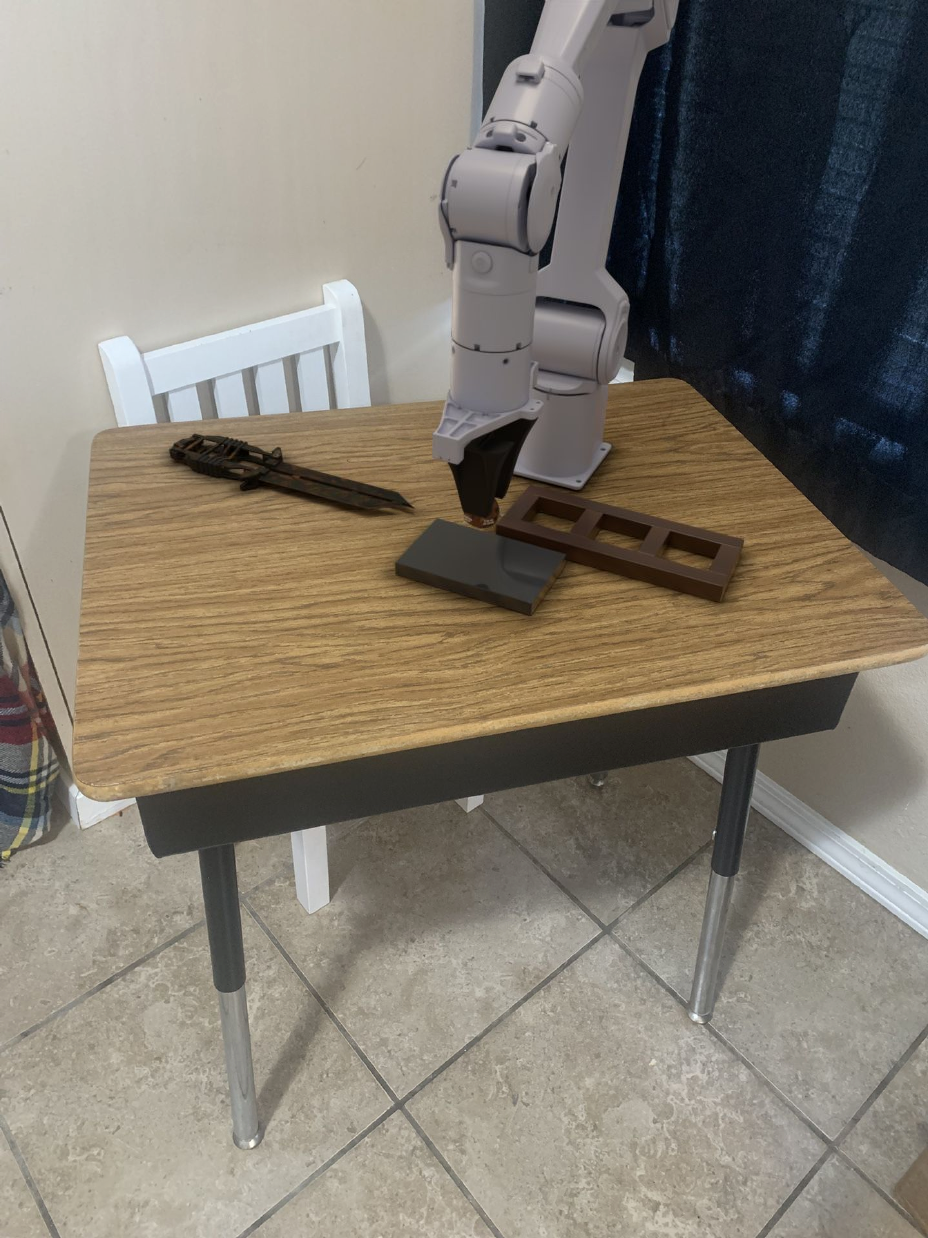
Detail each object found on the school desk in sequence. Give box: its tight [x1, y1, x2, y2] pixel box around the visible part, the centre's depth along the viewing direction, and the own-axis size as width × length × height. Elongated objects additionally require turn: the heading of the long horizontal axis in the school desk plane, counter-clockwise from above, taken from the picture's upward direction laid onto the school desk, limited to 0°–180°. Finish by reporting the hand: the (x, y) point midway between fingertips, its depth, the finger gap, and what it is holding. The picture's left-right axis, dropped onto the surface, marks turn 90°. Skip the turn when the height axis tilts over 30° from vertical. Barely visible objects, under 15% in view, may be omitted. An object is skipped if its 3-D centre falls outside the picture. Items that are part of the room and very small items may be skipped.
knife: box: [168, 433, 416, 510], centre depth 90 cm, size 25×6×1 cm, turn 60°
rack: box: [495, 484, 745, 603], centre depth 83 cm, size 8×20×2 cm, turn 65°
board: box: [394, 517, 567, 616], centre depth 80 cm, size 8×12×1 cm, turn 65°
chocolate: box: [463, 498, 503, 530], centre depth 77 cm, size 3×2×4 cm
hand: (484, 503), depth 77 cm, fingers closed on chocolate, 2 cm apart
